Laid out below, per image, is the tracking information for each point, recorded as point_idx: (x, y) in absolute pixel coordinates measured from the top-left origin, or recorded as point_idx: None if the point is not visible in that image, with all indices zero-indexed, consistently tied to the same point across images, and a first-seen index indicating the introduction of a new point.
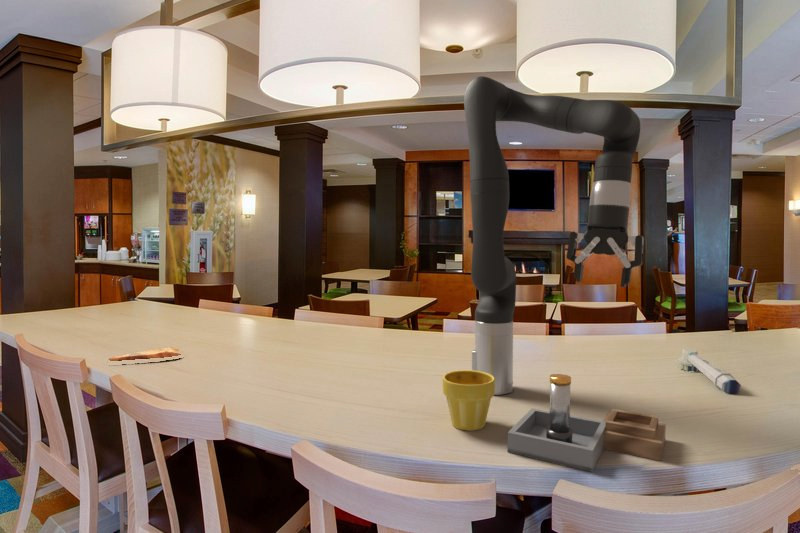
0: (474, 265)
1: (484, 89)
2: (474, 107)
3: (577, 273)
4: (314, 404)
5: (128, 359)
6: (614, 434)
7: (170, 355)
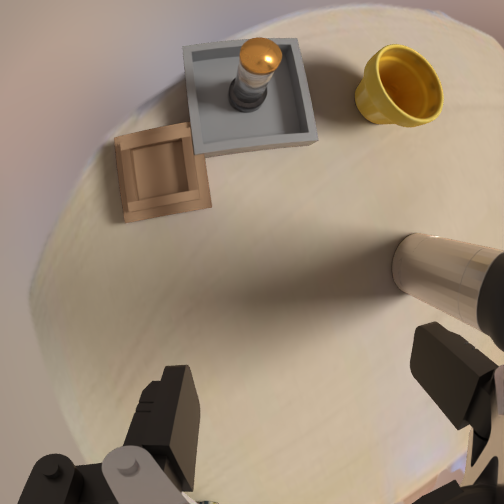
0: None
1: None
2: None
3: (456, 338)
4: (495, 88)
5: None
6: (175, 124)
7: None
